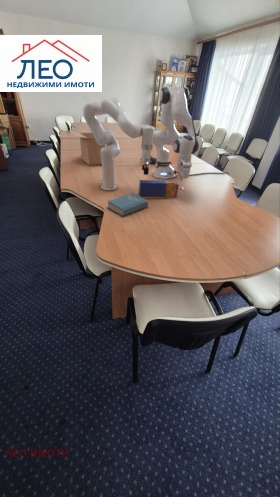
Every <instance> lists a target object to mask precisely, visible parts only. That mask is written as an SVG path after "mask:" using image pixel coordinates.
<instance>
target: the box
mask: <svg viewBox="0 0 280 497" xmlns="http://www.w3.org/2000/svg"><path fill="white" fill-rule="evenodd" d="M70 133H71V134H72V135H74V136H75V137H77V138H79V144H80V153H81V160H83V162H85V163H86V165H87V166H95V165H97V166H98V165H102V160H101V155H100V151H101V149H102V148H103V147H105V146H106V144H105V145H99V144H98V143H97V142H96V140H95V138H94V136H93V134H92V132H91V130H77V132H76V131H70Z"/></svg>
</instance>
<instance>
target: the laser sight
mask: <svg viewBox="0 0 280 497" xmlns="http://www.w3.org/2000/svg"><path fill="white" fill-rule="evenodd" d="M141 158H142V156H141V157H140V159H139V160H140V161H141ZM156 159H157V157H153V156H152V155H150V164H149V165H155V164H156Z"/></svg>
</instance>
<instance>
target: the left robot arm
mask: <svg viewBox="0 0 280 497" xmlns="http://www.w3.org/2000/svg"><path fill="white" fill-rule="evenodd" d="M82 114H83V118H84V120H85V123H86V124H87V126H88V128H89V131H91V132H92V134H93V136H94V138H95V140H96V142H97V143H98V144H99V145H105V147H103V148H102V149H101V151H100V155H101V160H102V164H101V169H102V170H101V171H102V180H98V184H99V185H101V186H100V188H101V190H103V191H114V190H117V188H118V186H117V185H116V170H115V168H116V166H115V160H114V159H116V158H117V157H119V156H120V154H121V149H120V146H119V143H118V141H117V139H116V137H115V135H114V133H113V131H112V130H110V129H108V128H107V129H104V127H103V125H102V123H101V121H100V120H99V119H98V118H97V116H103V115H108V116H110V117H111V118H112V119H113V120H114V121H115V122H116V123H117V125H118V127H119V129H120V130H121V131H122V132H123V133H124V134H125V135H127V136H128V137H130V138H131V139H136V138H140V137H141V147H140V149H141V157H142V158H141V157H140V159H141V160H140V164H141V170H142V171H143V175H144V176H145V175H146V176H147V175H149V172H150V171H149V170H150V169H149V168H150V167H149V166H150V165H151V164H150V156H151V151H152V150H153V145H154V144H153V136H154V131H155V127H154V126H152V125H145V124H142V123H137V124H136V123H135V124H133V123H132V122H131V121H130V120H128V118H127V117H126V114H127V112H126V110H125V109H124V108H122V107H121V106H120V101H119V100H118V99H117V98H116V97H113V96H111V97H109V96H106V97H104V98H102V99H101V100H90V101H87V102H85V104H84V105H83V109H82Z"/></svg>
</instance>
